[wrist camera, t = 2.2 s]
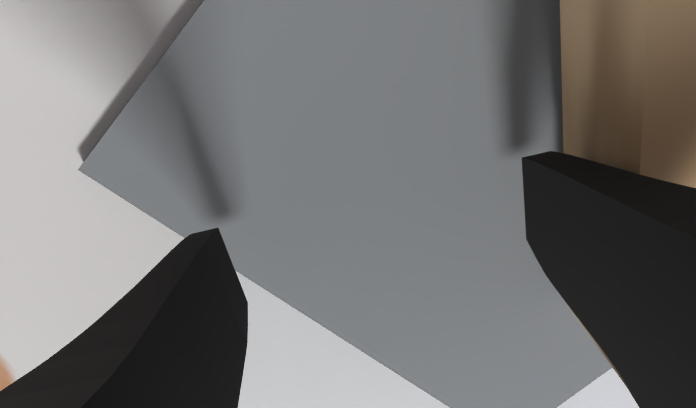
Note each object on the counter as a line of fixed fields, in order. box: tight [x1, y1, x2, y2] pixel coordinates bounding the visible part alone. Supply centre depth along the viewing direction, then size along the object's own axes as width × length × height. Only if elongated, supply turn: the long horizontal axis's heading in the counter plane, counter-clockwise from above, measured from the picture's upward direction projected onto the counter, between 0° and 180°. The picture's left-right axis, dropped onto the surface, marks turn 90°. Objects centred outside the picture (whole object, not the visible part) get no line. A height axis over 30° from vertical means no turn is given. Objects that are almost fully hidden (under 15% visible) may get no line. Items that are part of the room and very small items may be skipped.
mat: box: [78, 0, 612, 408], centre depth 12 cm, size 15×16×1 cm
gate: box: [560, 0, 696, 385], centre depth 10 cm, size 10×1×3 cm, turn 13°
